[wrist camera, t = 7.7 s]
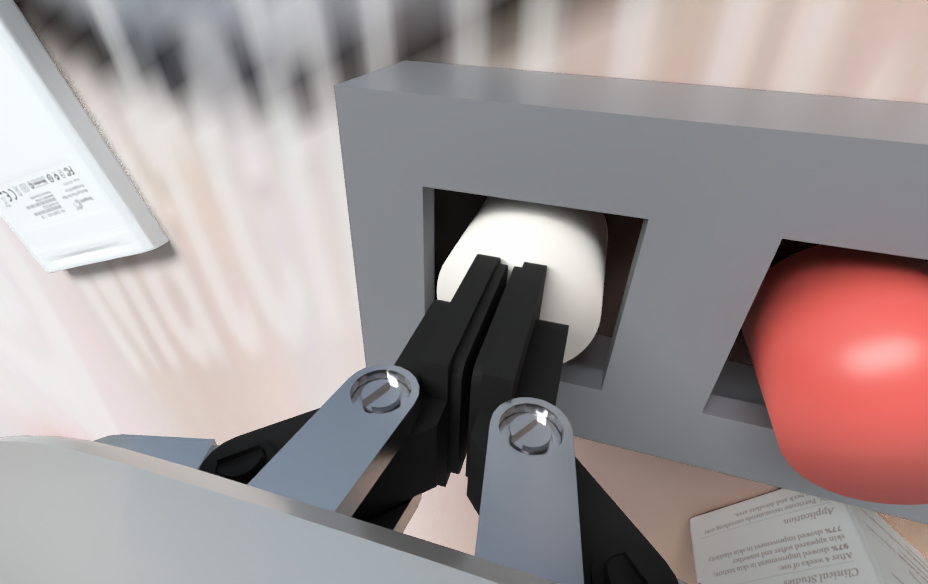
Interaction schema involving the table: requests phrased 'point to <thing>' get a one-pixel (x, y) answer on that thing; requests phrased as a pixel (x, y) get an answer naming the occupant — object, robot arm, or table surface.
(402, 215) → the control box
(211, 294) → the table surface
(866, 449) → the red button
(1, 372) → the table surface
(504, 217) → the cream button
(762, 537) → the product box
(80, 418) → the table surface
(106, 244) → the external hard drive
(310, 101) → the table surface
